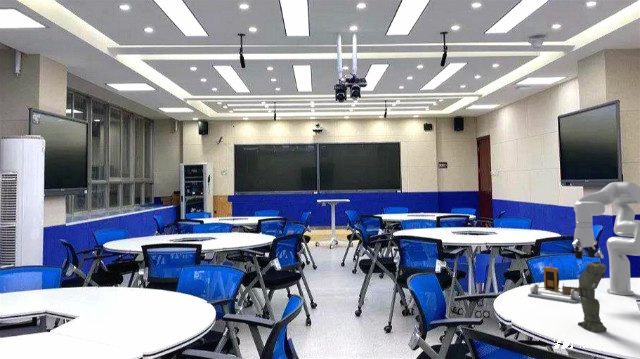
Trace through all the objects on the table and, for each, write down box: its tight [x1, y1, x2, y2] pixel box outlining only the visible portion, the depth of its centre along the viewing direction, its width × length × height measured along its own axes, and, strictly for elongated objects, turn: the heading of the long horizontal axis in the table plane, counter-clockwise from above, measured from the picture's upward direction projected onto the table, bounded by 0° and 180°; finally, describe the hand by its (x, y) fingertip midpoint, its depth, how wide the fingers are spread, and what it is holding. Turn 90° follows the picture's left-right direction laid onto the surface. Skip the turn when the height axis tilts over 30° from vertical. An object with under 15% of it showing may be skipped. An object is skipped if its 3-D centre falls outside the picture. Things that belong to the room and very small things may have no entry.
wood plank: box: [561, 285, 596, 298], centre depth 232 cm, size 15×2×5 cm, turn 51°
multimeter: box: [538, 256, 565, 292], centre depth 251 cm, size 15×10×20 cm
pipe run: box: [527, 283, 581, 304], centre depth 231 cm, size 12×23×6 cm, turn 45°
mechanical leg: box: [577, 260, 608, 333], centre depth 178 cm, size 14×7×30 cm, turn 5°
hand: (585, 258), depth 223 cm, fingers open, 9 cm apart
